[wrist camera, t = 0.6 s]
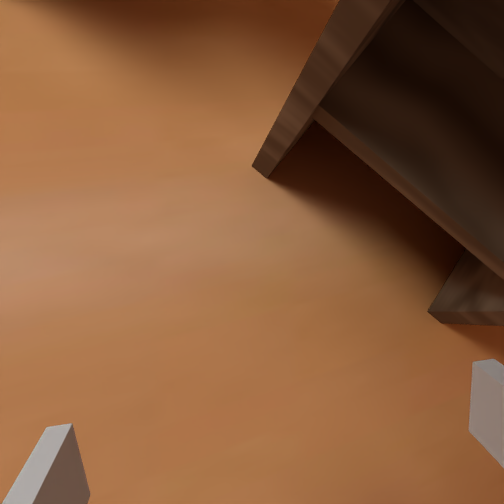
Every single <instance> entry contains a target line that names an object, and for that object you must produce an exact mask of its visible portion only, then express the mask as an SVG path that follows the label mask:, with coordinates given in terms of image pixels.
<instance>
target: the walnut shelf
mask: <svg viewBox="0 0 504 504" xmlns="http://www.w3.org/2000/svg"><path fill="white" fill-rule="evenodd" d="M314 121H317V122H318V123H319V124H320V125H321V126H323V127H324V128H325V129H326V130H327V131H328V132H330V133H331V134H332V135H333V136H334V137H336V138H337V139H338V140H339V141H340V142H341V143H343V144H344V145H345V146H346V147H347V148H348V149H350V150H351V151H352V152H353V153H354V154H356V155H357V156H358V157H359V158H360V159H361V160H363V161H364V162H365V163H366V164H367V165H369V166H370V167H371V168H372V169H373V170H374V171H376V172H377V173H378V174H379V175H380V176H382V177H383V178H384V179H385V180H386V181H387V182H389V183H390V184H391V185H392V186H393V187H394V188H396V189H397V190H398V191H399V192H400V193H402V194H403V195H404V196H405V197H406V198H407V199H409V200H410V201H411V202H412V203H413V204H415V205H416V206H417V207H418V208H419V209H420V210H422V211H423V212H424V213H425V214H426V215H427V216H429V217H430V218H431V219H432V220H433V221H435V222H436V223H437V224H438V225H439V226H440V227H442V228H443V229H444V230H445V231H446V232H448V233H449V234H450V235H451V236H452V237H453V238H455V239H456V240H457V241H458V242H459V243H461V244H462V245H463V246H464V247H465V248H466V250H465V251H464V253H463V255H462V256H461V258H460V259H459V261H458V263H457V264H456V266H455V268H454V269H453V271H452V272H451V274H450V276H449V277H448V279H447V281H446V282H445V284H444V285H443V287H442V289H441V290H440V292H439V293H438V295H437V297H436V298H435V300H434V302H433V303H432V305H431V306H430V308H429V310H428V311H427V312H429V313H430V314H431V315H432V316H433V317H435V318H436V319H437V320H438V321H439V322H441V323H448V324H471V325H494V326H504V0H339V2H338V4H337V6H336V8H335V10H334V12H333V13H332V15H331V17H330V19H329V21H328V23H327V25H326V27H325V29H324V30H323V32H322V34H321V36H320V38H319V40H318V42H317V44H316V45H315V47H314V49H313V51H312V53H311V55H310V57H309V59H308V61H307V62H306V64H305V66H304V68H303V70H302V72H301V74H300V76H299V78H298V79H297V81H296V83H295V85H294V87H293V89H292V91H291V93H290V94H289V96H288V98H287V100H286V102H285V104H284V106H283V108H282V110H281V111H280V113H279V115H278V117H277V119H276V121H275V123H274V125H273V127H272V128H271V130H270V132H269V134H268V136H267V138H266V140H265V142H264V143H263V145H262V147H261V149H260V151H259V153H258V155H257V157H256V159H255V160H254V162H253V164H252V167H254V168H255V169H256V170H257V171H258V172H260V173H261V174H262V175H263V176H264V177H266V178H267V177H268V176H269V175H270V174H271V173H272V171H273V170H274V169H275V168H276V167H277V165H278V164H279V163H280V162H281V161H282V159H283V158H284V157H285V156H286V154H287V153H288V152H289V151H290V150H291V148H292V147H293V146H294V145H295V144H296V142H297V141H298V140H299V139H300V138H301V136H302V135H303V134H304V133H305V131H306V130H307V129H308V128H309V127H310V125H311V124H312V123H313V122H314Z"/></svg>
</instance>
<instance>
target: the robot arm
mask: <svg viewBox="0 0 504 504" xmlns="http://www.w3.org/2000/svg"><path fill="white" fill-rule="evenodd" d="M469 432H470V433H471V434H472V435H473V436H474V437H475V438H476V439H477V440H478V441H479V442H480V443H481V444H482V445H483V446H484V448H485V449H486V450H487V451H488V452H489V453H490V454H491V455H492V456H493V457H494V458H495V459H496V460H497V461H498V462H499V463H500V465H501V466H502V467H503V468H504V365H502V364H501V363H499V362H498V361H497V360H495V359H488V360H482V361H475V362H473V366H472V383H471V400H470V417H469ZM89 497H90V491H89V487H88V483H87V479H86V475H85V471H84V467H83V463H82V459H81V455H80V452H79V448H78V444H77V440H76V436H75V432H74V428H73V424H72V423H71V424H64V425H58V426H51V427H46V429H45V431H44V433H43V434H42V436H41V438H40V439H39V441H38V443H37V445H36V446H35V448H34V450H33V451H32V453H31V455H30V457H29V458H28V460H27V462H26V463H25V465H24V467H23V469H22V470H21V472H20V474H19V475H18V477H17V479H16V481H15V482H14V484H13V486H12V487H11V489H10V491H9V493H8V494H7V496H6V498H5V499H4V501H3V503H2V504H87V503H88V500H89Z"/></svg>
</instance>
